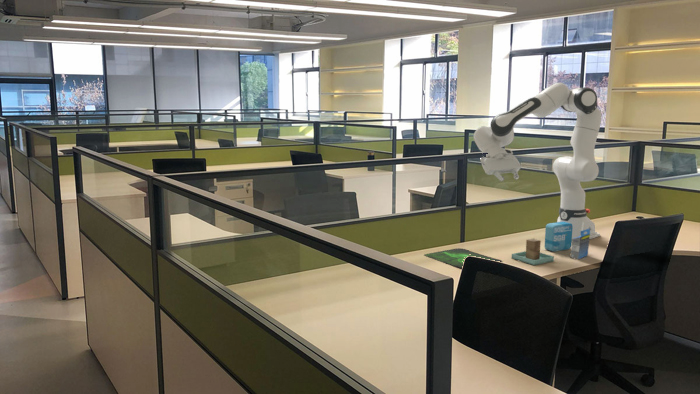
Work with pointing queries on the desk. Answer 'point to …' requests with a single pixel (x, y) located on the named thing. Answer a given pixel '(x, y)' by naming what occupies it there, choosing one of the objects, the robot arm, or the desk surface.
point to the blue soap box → (558, 236)
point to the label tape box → (580, 245)
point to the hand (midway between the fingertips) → (510, 179)
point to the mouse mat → (455, 256)
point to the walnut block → (533, 249)
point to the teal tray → (522, 257)
